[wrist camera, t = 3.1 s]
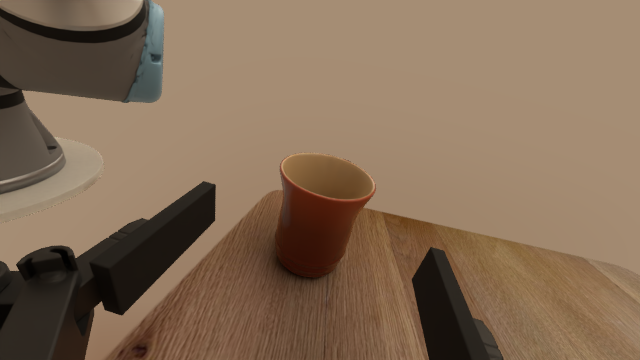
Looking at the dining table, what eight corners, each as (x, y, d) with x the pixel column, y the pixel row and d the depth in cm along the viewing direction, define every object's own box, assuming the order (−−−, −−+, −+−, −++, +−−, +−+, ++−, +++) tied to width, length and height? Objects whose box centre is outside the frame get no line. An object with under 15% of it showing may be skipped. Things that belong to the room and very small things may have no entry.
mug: (328, 306, 21) (363, 215, 16) (248, 262, 23) (258, 171, 18) (360, 232, 31) (387, 164, 27) (302, 207, 33) (318, 139, 29)
